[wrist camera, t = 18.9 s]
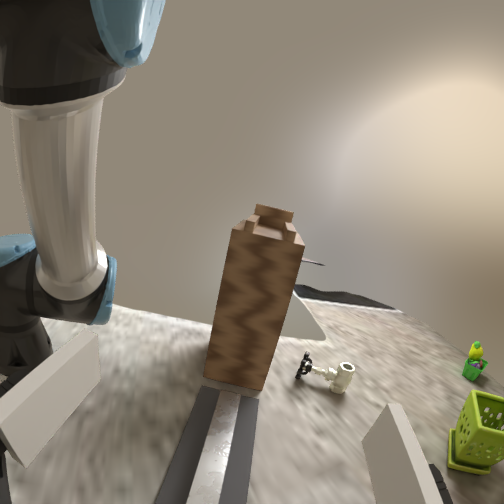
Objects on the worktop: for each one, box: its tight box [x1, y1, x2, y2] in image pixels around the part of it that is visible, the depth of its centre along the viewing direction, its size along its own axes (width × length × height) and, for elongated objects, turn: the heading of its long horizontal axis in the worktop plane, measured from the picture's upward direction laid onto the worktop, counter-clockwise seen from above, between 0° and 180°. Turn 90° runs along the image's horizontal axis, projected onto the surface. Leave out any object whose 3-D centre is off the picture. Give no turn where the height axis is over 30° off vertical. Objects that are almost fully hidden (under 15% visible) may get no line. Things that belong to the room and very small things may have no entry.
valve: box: [295, 352, 355, 394], centre depth 56 cm, size 7×7×12 cm
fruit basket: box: [462, 341, 488, 381], centre depth 64 cm, size 11×9×11 cm
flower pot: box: [448, 390, 504, 475], centre depth 30 cm, size 14×14×13 cm
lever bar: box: [186, 390, 241, 504], centre depth 32 cm, size 4×25×4 cm, turn 174°
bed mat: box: [155, 386, 259, 504], centre depth 34 cm, size 11×29×1 cm, turn 175°
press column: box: [203, 204, 305, 391], centre depth 56 cm, size 12×16×34 cm
